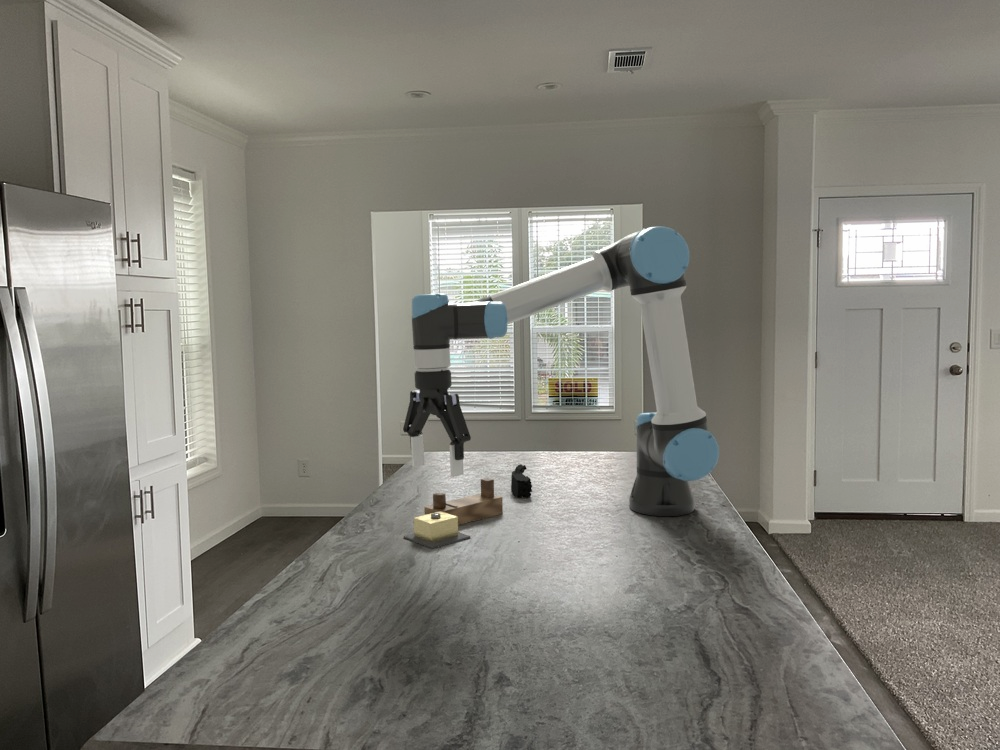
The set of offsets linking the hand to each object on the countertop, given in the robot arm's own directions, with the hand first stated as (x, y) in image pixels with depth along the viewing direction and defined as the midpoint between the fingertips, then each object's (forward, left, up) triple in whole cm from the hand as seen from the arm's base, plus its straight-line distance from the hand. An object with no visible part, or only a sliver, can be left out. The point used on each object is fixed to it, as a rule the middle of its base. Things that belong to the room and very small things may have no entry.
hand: (437, 470), depth 154 cm
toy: (+16, -39, -15) cm, 45 cm away
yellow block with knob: (0, 0, -14) cm, 14 cm away
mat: (0, 0, -14) cm, 14 cm away
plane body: (+7, -13, -14) cm, 21 cm away
